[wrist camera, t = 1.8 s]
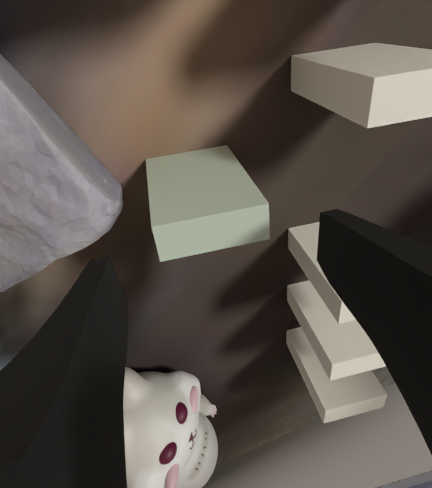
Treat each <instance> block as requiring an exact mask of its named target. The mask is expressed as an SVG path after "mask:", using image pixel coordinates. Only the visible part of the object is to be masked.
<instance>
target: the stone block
mask: <svg viewBox="0 0 432 488" xmlns="http://www.w3.org/2000/svg"><path fill="white" fill-rule="evenodd" d="M122 196H123V192H122V187H121V185H120V183H119V182H118V181H117V179H116V178H115V177H114V176H113V175H112V174H111V173H110V171H109V170H108V169H107V168H106V167H105V166H104V165H103V164H102V163H101V162H100V160H99V159H98V158H97V157H96V156H95V155H94V154H93V153H92V152H91V151H90V150H89V149H88V148H87V146H86V145H85V144H84V143H83V142H82V141H81V140H80V139H79V138H78V137H77V136H76V134H75V133H74V132H73V131H72V130H71V129H70V128H69V127H68V126H67V125H66V124H65V122H64V121H63V120H62V119H61V118H60V117H59V116H58V115H57V113H56V112H55V111H54V110H53V109H52V108H51V107H50V106H49V105H48V104H47V103H46V102H45V101H44V100H43V98H42V97H41V96H40V95H39V94H38V93H37V92H36V91H35V90H34V88H33V87H32V86H31V85H30V84H29V83H28V82H27V81H26V80H25V78H24V77H23V76H22V75H21V74H20V73H19V72H18V71H17V70H16V69H15V68H14V67H13V66H12V65H11V64H10V63H9V62H8V61H7V60H6V59H5V58H4V57H3V56H2V54H1V53H0V292H3V291H5V290H7V289H9V288H10V287H12V286H13V285H14V284H17V283H19V282H21V281H23V280H26V279H28V278H30V277H31V276H33V275H35V274H37V273H38V272H40V271H41V270H43V269H44V268H45V267H46V266H48V265H49V264H51V263H52V262H54V261H55V260H57V259H60V258H63V257H65V256H68V255H70V254H72V253H74V252H77V251H79V250H81V249H84V248H85V247H87V246H89V245H91V244H92V243H94V242H95V241H97V240H98V239H99V238H100V237H102V236H103V235H104V234H105V233H107V232H108V231H109V230H110V229H111V228H112V226H113V224H114V223H115V221H116V219H117V217H118V216H119V214H120V213H121V211H122V208H123V200H122Z"/></svg>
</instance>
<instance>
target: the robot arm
mask: <svg viewBox="0 0 432 488" xmlns="http://www.w3.org/2000/svg"><path fill="white" fill-rule="evenodd" d="M317 261H318V263H319V265H320V267H321V269H322V271H323V273H324V275H325V277H326V278H327V280H328V282H329V284H330V285H331V286H332V288H333V289H334V291H335V292H336V293H337V295H338V296H339V297H340V299H341V300H342V301H343V303H344V304H345V305H346V307H347V308H348V310H349V311H350V312H351V314H352V315H353V316H354V318H355V319H356V320H357V322H358V323H359V324H360V326H361V327H362V328H363V330H364V331H365V332H366V334H367V335H368V337H369V338H370V340H371V341H372V343H373V344H374V346H375V348H376V350H377V351H378V353H379V355H380V356H381V358H382V360H383V361H384V363H385V365H386V367H387V368H388V370H389V372H390V374H391V376H392V377H393V379H394V381H395V383H396V385H397V386H398V388H399V390H400V392H401V394H402V396H403V398H404V399H405V401H406V403H407V405H408V407H409V409H410V411H411V413H412V415H413V417H414V419H415V421H416V423H417V425H418V427H419V429H420V431H421V433H422V435H423V437H424V439H425V442H426V444H427V446H428V448H429V450H430V452H431V454H432V246H431V245H428V244H425V243H422V242H420V241H417V240H414V239H411V238H408V237H406V236H403V235H401V234H398V233H395V232H393V231H390V230H388V229H386V228H383V227H381V226H378V225H376V224H374V223H371V222H369V221H366V220H364V219H362V218H359V217H357V216H354V215H352V214H349V213H347V212H344V211H341V210H338V209H335V210H330V211H326V212H321V213H320V222H319V235H318V248H317ZM127 335H128V322H127V307H126V300H125V297H124V294H123V292H122V289H121V286H120V283H119V281H118V278H117V275H116V272H115V270H114V267H113V264H112V261H111V259H110V256H107V257H102V258H97V259H92V260H90V261H89V263H88V264H87V266H86V267H85V268H84V270H83V271H82V273H81V274H80V276H79V277H78V279H77V280H76V282H75V283H74V285H73V286H72V288H71V289H70V291H69V292H68V293H67V295H66V296H65V298H64V299H63V301H62V302H61V303H60V305H59V306H58V307H57V309H56V310H55V311H54V313H53V314H52V315H51V316H50V318H49V319H48V320H47V321H46V323H45V324H44V325H43V327H42V328H41V329H40V330H39V331H38V333H37V334H36V335H35V336H34V337H33V338H32V339H31V341H30V342H29V343H28V344H27V345H26V346H25V347H24V348H23V349H22V350H21V351H20V352H19V353H18V354H17V355H16V356H15V357H14V358H13V359H12V361H11V362H9V363H8V364H7V365H6V366H5V367H4V368H3V369H2V370H1V371H0V488H127V477H126V459H125V439H124V411H123V398H124V379H125V365H126V351H127ZM376 488H432V471H429V472H426V473H423V474H419V475H416V476H412V477H409V478H406V479H402V480H399V481H396V482H392V483H389V484H386V485H382V486H379V487H376Z"/></svg>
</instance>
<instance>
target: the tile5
mask: <svg viewBox="0 0 432 488" xmlns="http://www.w3.org/2000/svg"><path fill="white" fill-rule="evenodd" d="M287 302H288V304H289V305H290V307H291V309H292V311H293V313H294V315H295V317H296V318H297V320H298V322H299V324H300V326H301V328H302V330H303V331H304V333H305V335H306V337H307V339H308V341H309V343H310V345H311V346H312V348H313V350H314V352H315V354H316V356H317V358H318V359H319V361H320V363H321V365H322V367H323V369H324V371H325V372H326V374H327V376H328V378H329V380H330V381H331V380H335V379H339V378H343V377H347V376H350V375H354V374H358V373H362V372H366V371H370V370H374V369H378V368H382V367H385V366H386V365H385V363H384V361H383V360H382V358H381V356H380V355H379V353H378V351H377V350H376V348H375V346H374V344H373V343H372V341H371V340H370V338H369V337H368V335H367V334H366V332H365V331H364V330H363V328H362V327H361V326H360V324H359V323H358V322H357V320H353V321H349V322H345V323H341V324H338V323H337V321H336V320H335V318H334V317H333V315H332V314H331V312H330V311H329V309H328V308H327V306H326V305H325V303H324V302H323V300H322V299H321V297H320V296H319V294H318V293H317V291H316V290H315V288H314V287H313V285H312V284H311V282H310V281H309V280H308V281H304V282H299V283H295V284H290V285H287Z"/></svg>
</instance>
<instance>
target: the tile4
mask: <svg viewBox="0 0 432 488" xmlns="http://www.w3.org/2000/svg"><path fill="white" fill-rule="evenodd" d="M318 235H319V222H317V223H312V224H307V225H302V226H297V227H293V228H288V249H289V250H290V252H291V253H292V255H293V256H294V258H295V259H296V261H297V262H298V264H299V265H300V267H301V268H302V270H303V271H304V273H305V274H306V276H307V278H308V279H309V281H310V282H311V284H312V285H313V287H314V288H315V290H316V291H317V293H318V294H319V296H320V297H321V299H322V300H323V302H324V303H325V305H326V306H327V308H328V309H329V311H330V312H331V314H332V315H333V317H334V318H335V320H336V321H337V323H338V324H341V323H345V322H349V321H353V320H356V319H355V318H354V316H353V315H352V314H351V312H350V311H349V310H348V308H347V307H346V305H345V304H344V303H343V301H342V300H341V299H340V297H339V296H338V295H337V293H336V292H335V291H334V289H333V288H332V286H331V285H330V284H329V282H328V280H327V278H326V277H325V275H324V273H323V271H322V269H321V267H320V265H319V263H318V261H317V248H318Z"/></svg>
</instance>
